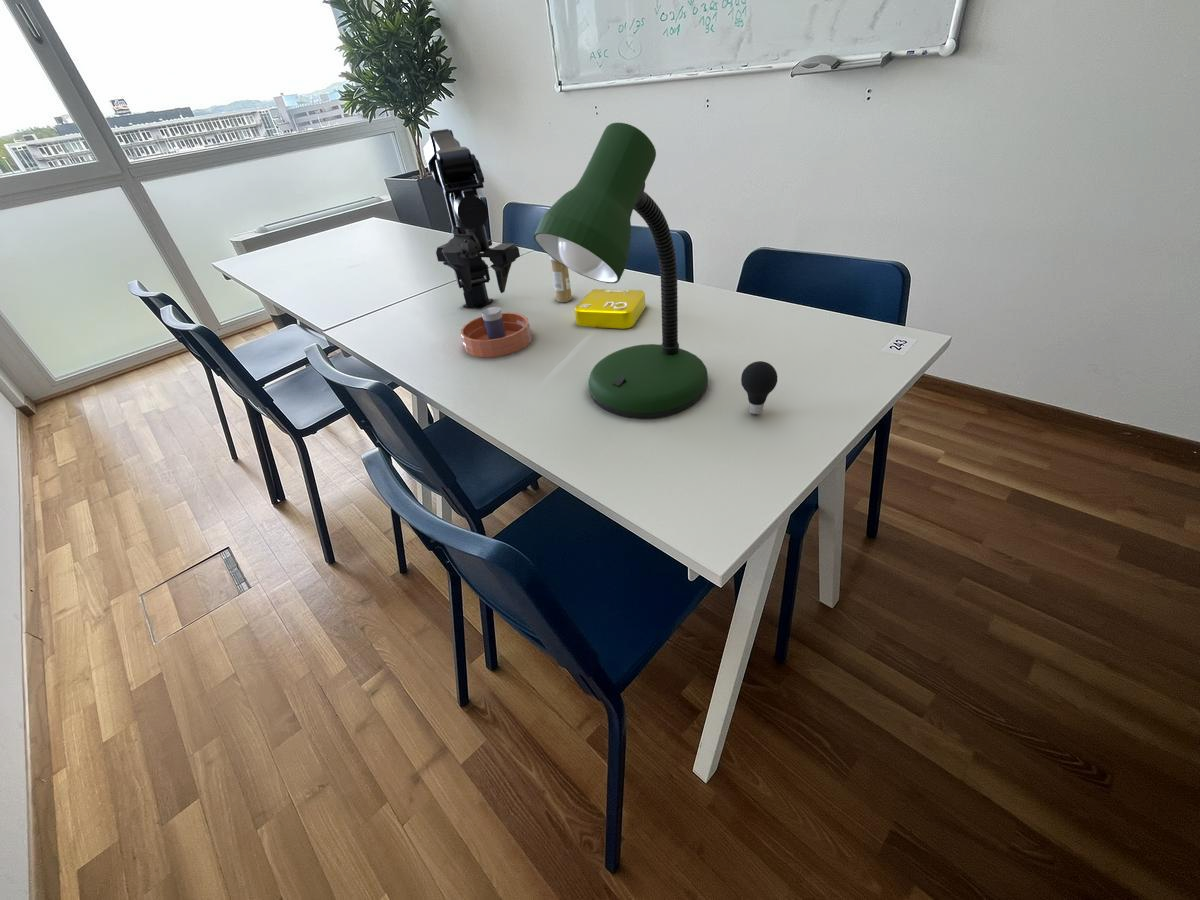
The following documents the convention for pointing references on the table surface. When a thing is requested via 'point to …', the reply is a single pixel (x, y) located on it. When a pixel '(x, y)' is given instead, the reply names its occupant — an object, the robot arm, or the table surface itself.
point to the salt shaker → (493, 323)
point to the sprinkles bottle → (561, 281)
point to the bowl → (513, 342)
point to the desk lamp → (600, 252)
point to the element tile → (610, 308)
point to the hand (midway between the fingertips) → (485, 291)
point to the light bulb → (758, 384)
